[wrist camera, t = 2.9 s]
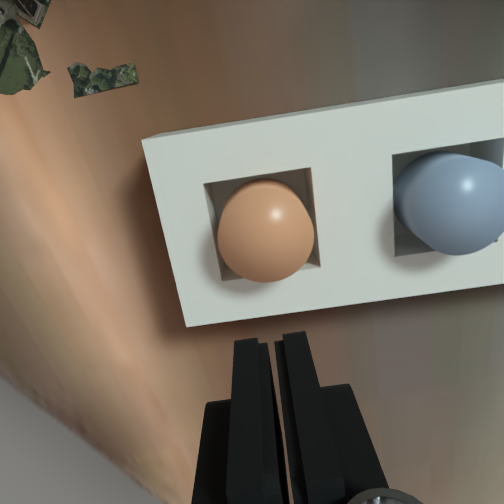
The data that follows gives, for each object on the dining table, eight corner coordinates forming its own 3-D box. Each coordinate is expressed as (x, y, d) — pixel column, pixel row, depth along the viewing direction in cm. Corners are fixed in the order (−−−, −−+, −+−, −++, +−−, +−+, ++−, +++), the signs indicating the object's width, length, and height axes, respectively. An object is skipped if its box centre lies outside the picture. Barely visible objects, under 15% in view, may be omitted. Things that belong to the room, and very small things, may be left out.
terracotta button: (299, 171, 20) (309, 183, 17) (308, 251, 22) (318, 275, 19) (214, 184, 21) (209, 198, 18) (229, 263, 22) (226, 288, 19)
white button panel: (683, 49, 21) (778, 38, 17) (646, 230, 24) (718, 253, 21) (159, 133, 22) (141, 140, 18) (195, 294, 26) (186, 327, 22)
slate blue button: (479, 144, 20) (520, 152, 17) (475, 227, 22) (512, 248, 19) (390, 158, 20) (415, 167, 17) (393, 239, 22) (416, 261, 19)
